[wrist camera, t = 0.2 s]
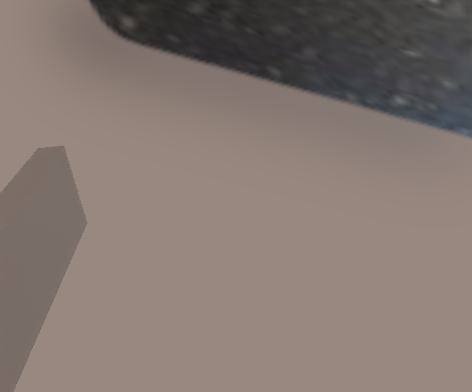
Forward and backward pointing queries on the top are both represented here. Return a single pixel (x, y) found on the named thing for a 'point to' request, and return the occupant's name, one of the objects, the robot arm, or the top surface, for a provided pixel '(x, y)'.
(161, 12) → the top surface
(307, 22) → the top surface
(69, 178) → the robot arm
